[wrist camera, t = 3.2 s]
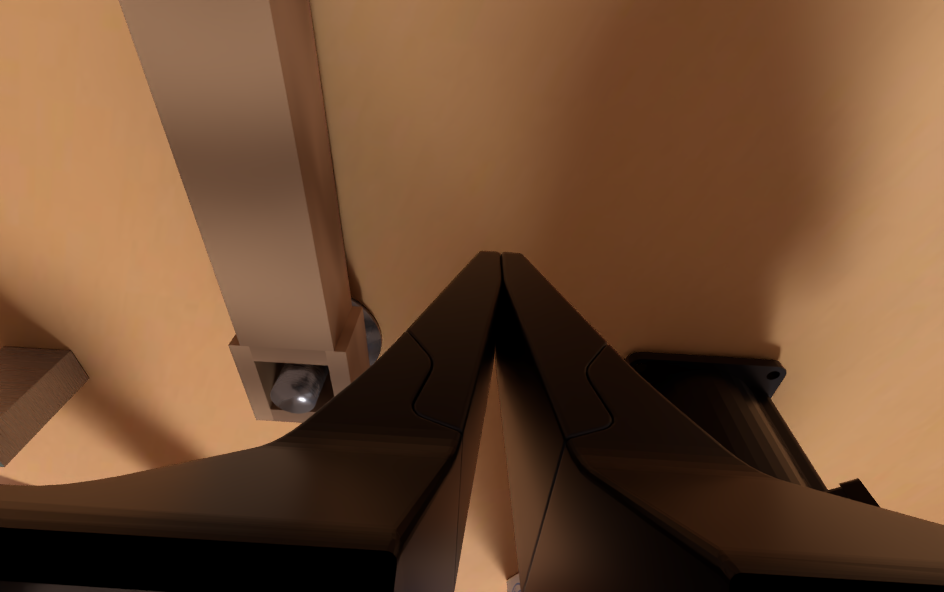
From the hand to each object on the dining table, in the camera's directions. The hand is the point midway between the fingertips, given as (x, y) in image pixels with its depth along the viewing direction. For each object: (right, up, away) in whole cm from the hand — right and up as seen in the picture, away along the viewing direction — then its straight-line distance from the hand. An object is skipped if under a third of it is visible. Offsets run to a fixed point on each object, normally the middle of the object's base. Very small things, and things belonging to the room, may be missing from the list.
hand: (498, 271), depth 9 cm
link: (-7, +2, +6) cm, 9 cm away
